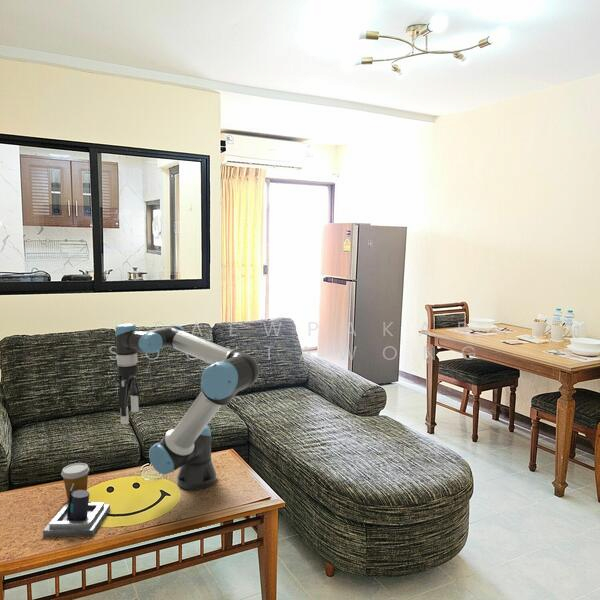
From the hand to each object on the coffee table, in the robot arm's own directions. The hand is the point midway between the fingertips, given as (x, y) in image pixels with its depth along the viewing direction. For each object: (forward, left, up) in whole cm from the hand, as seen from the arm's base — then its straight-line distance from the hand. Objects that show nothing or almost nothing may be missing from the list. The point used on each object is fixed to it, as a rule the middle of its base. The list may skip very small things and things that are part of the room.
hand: (130, 417), depth 199 cm
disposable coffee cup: (+17, +12, -27) cm, 34 cm away
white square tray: (+10, +28, -27) cm, 40 cm away
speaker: (+10, +28, -25) cm, 38 cm away
